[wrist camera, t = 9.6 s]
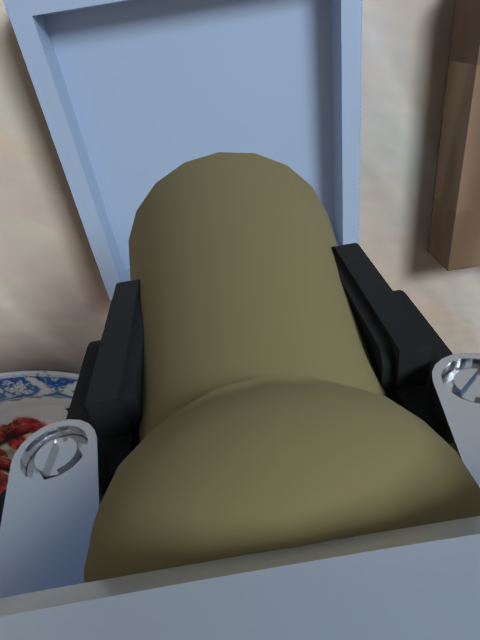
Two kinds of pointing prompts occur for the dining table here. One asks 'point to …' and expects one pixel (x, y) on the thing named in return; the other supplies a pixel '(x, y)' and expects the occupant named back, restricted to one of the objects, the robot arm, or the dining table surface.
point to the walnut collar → (459, 149)
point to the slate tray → (193, 98)
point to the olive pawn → (257, 387)
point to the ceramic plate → (30, 408)
